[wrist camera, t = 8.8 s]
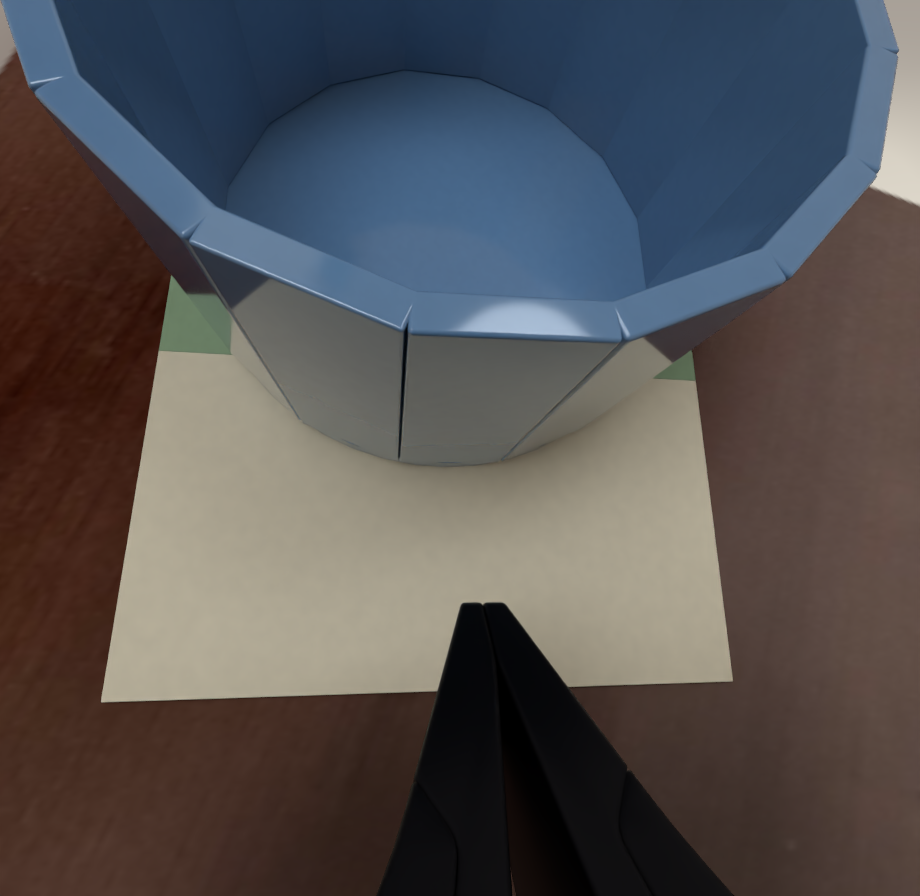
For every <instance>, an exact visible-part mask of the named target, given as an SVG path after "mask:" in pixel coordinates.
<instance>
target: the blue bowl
mask: <svg viewBox="0 0 920 896" xmlns="http://www.w3.org/2000/svg"><path fill="white" fill-rule="evenodd" d="M1 3H2V6H3V9H4V12H5V15H6V18H7V21H8V25H9V28H10V30H11V34H12V37H13V40H14V43H15V46H16V49H17V52H18V55H19V58H20V61H21V64H22V68H23V71H24V74H25V77H26V80H27V83H28V86H29V88H30V89H31V90H32V91H33V93H34V94H35V95H36V97H37V99H38V100H39V102H40V103H41V104H42V106H43V107H44V108H45V110H46V111H47V112H48V114H49V115H50V116H51V118H52V119H53V120H54V121H55V123H56V124H57V125H58V127H59V128H60V129H61V131H62V132H63V133H64V135H65V136H66V137H67V139H68V140H69V141H70V142H71V144H72V145H73V146H74V148H75V149H76V150H77V152H78V153H79V154H80V156H81V157H82V158H83V159H84V161H85V162H86V163H87V165H88V166H89V167H90V169H91V170H92V171H93V173H94V174H95V175H96V177H97V178H98V179H99V180H100V182H101V183H102V184H103V186H104V187H105V188H106V190H107V191H108V192H109V194H110V195H111V196H112V197H113V199H114V200H115V201H116V203H117V204H118V205H119V207H120V208H121V209H122V211H123V212H124V213H125V215H126V216H127V217H128V218H129V220H130V221H131V222H132V224H133V225H134V226H135V228H136V229H137V230H138V232H139V233H140V234H141V236H142V237H143V238H144V239H145V241H146V242H147V243H148V245H149V246H150V247H151V249H152V250H153V251H154V253H155V254H156V255H157V256H158V258H159V259H160V260H161V262H162V263H163V264H164V266H165V267H166V268H167V270H168V271H169V272H170V274H171V275H172V276H173V277H174V279H175V280H176V281H177V283H178V284H179V285H180V287H181V288H182V289H183V291H184V292H185V293H186V294H187V296H188V297H189V298H190V300H191V301H192V302H193V304H194V305H195V306H196V308H197V309H198V310H199V312H200V313H201V314H202V315H203V317H204V318H205V319H206V321H207V322H208V323H209V325H210V326H211V327H212V329H213V330H214V331H215V333H216V334H217V335H218V336H219V338H220V339H221V340H222V342H223V343H224V344H225V346H226V347H227V348H228V350H229V351H230V352H231V353H232V354H233V355H234V356H235V357H236V358H237V359H238V360H239V361H240V362H241V363H242V364H243V365H244V366H245V367H246V368H247V369H248V370H249V371H250V372H251V373H252V374H253V375H254V376H255V378H256V379H257V380H258V381H259V382H260V383H261V384H262V386H263V387H264V388H265V389H266V390H267V391H268V392H269V394H270V395H271V396H273V397H274V398H275V399H276V400H277V401H278V402H279V403H281V404H282V405H283V406H284V407H285V408H286V409H288V410H289V411H290V412H291V413H292V414H293V415H294V416H295V417H296V418H297V419H298V420H301V421H302V422H303V423H304V424H306V425H308V426H311V427H313V428H314V429H316V430H317V431H319V432H320V433H322V434H323V435H326V436H328V437H330V438H332V439H334V440H336V441H338V442H340V443H342V444H344V445H346V446H348V447H350V448H353V449H356V450H359V451H362V452H365V453H368V454H371V455H374V456H377V457H380V458H383V459H387V460H392V461H397V462H402V463H407V464H412V465H422V466H437V467H459V466H475V465H483V464H488V463H493V462H499V461H505V460H508V459H512V458H515V457H517V456H520V455H523V454H526V453H529V452H532V451H535V450H538V449H540V448H542V447H544V446H546V445H548V444H550V443H552V442H554V441H556V440H558V439H560V438H562V437H563V436H565V435H567V434H570V433H572V432H574V431H577V430H579V429H582V428H584V427H585V426H587V425H588V424H589V423H591V422H592V421H594V420H595V419H596V418H598V417H599V416H601V415H602V414H603V413H605V412H606V411H607V410H609V409H610V408H612V407H613V406H614V405H616V404H617V403H619V402H620V401H621V400H623V399H624V398H625V397H627V396H628V395H630V394H631V393H632V392H634V391H635V390H637V389H638V388H639V387H641V386H642V385H643V384H645V383H646V382H648V381H649V380H650V379H652V378H653V377H655V376H656V375H657V374H659V373H660V372H661V371H663V370H664V369H666V368H667V367H668V366H670V365H671V364H673V363H674V362H675V361H677V360H678V359H679V358H681V357H682V356H684V355H685V354H686V353H688V352H689V351H691V350H692V349H693V348H695V347H696V346H698V345H699V344H700V343H702V342H703V341H704V340H706V339H707V338H709V337H710V336H711V335H713V334H714V333H716V332H717V331H718V330H720V329H721V328H722V327H724V326H725V325H727V324H728V323H729V322H731V321H732V320H734V319H735V318H736V317H738V316H739V315H740V314H742V313H743V312H745V311H746V310H747V309H749V308H750V307H752V306H753V305H754V304H756V303H757V302H758V301H760V300H761V299H763V298H764V297H765V296H767V295H768V294H770V293H771V292H772V291H774V290H775V289H776V288H778V287H779V286H781V285H782V284H783V283H785V282H786V281H788V280H789V279H790V278H792V276H793V275H794V274H795V273H796V272H797V271H798V269H799V268H800V267H801V266H802V265H803V264H804V262H805V261H806V260H807V259H808V258H809V257H810V255H811V254H812V253H813V252H814V251H815V249H816V248H817V247H818V246H819V245H820V244H821V242H822V241H823V240H824V239H825V238H826V237H827V235H828V234H829V233H830V232H831V231H832V230H833V228H834V227H835V226H836V225H837V224H838V222H839V221H840V220H841V219H842V218H843V217H844V215H845V214H846V213H847V212H848V211H849V210H850V208H851V207H852V206H853V205H854V204H855V203H856V201H857V200H858V199H859V198H860V197H861V195H862V194H863V193H864V192H865V191H866V190H867V188H868V187H869V186H870V185H871V184H872V183H873V181H874V180H875V178H876V177H877V175H876V174H877V173H878V171H879V170H880V167H881V161H882V154H883V148H884V142H885V136H886V130H887V123H888V117H889V111H890V104H891V99H892V92H893V85H894V79H895V74H896V67H897V60H898V56H897V53H898V51H899V49H898V46H897V42H896V39H895V36H894V33H893V29H892V26H891V23H890V20H889V17H888V13H887V10H886V7H885V4H884V1H883V0H1Z"/></svg>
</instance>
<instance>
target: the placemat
mask: <svg viewBox="0 0 920 896" xmlns="http://www.w3.org/2000/svg"><path fill="white" fill-rule="evenodd" d="M464 602H479V603H481V604H482V605H483V604H484V603H486V602H503V603H505V604H506V605H507V606H508V608H509V609H510V610H511V612H512V613H513V614H514V616H515V617H516V618H517V620H518V621H519V622H520V624H521V625H522V626H523V628H524V629H525V630H526V632H527V633H528V634H529V636H530V637H531V638H532V640H533V641H534V642H535V644H536V645H537V646H538V648H539V649H540V650H541V652H542V653H543V654H544V656H545V657H546V658H547V660H548V661H549V662H550V664H551V665H552V666H553V668H554V669H555V670H556V672H557V673H558V674H559V676H560V677H561V678H562V680H563V681H564V682H565V684H566V685H567V686H568V687H580V686H610V685H640V684H670V683H700V682H730V681H733V678H732V670H731V662H730V654H729V646H728V638H727V629H726V621H725V613H724V605H723V597H722V589H721V581H720V573H719V565H718V557H717V549H716V541H715V533H714V525H713V517H712V509H711V501H710V493H709V485H708V477H707V469H706V461H705V453H704V445H703V437H702V429H701V420H700V412H699V404H698V396H697V388H696V381H695V372H694V364H693V356H692V350H691V351H689V352H688V353H686V354H685V355H684V356H682V357H681V358H679V359H678V360H677V361H675V362H674V363H673V364H671V365H670V366H668V367H667V368H666V369H664V370H663V371H661V372H660V373H659V374H657V375H656V376H655V377H653V378H652V379H650V380H649V381H648V382H646V383H645V384H643V385H642V386H641V387H639V388H638V389H637V390H635V391H634V392H632V393H631V394H630V395H628V396H627V397H625V398H624V399H623V400H621V401H620V402H619V403H617V404H616V405H614V406H613V407H612V408H610V409H609V410H607V411H606V412H605V413H603V414H602V415H601V416H599V417H598V418H596V419H595V420H594V421H592V422H591V423H589V424H588V425H587V426H585V427H584V428H582V429H579V430H577V431H574V432H572V433H570V434H567V435H565V436H563V437H562V438H560V439H558V440H556V441H554V442H552V443H550V444H548V445H546V446H544V447H542V448H540V449H538V450H535V451H532V452H529V453H526V454H523V455H520V456H517V457H515V458H512V459H508V460H505V461H499V462H493V463H488V464H483V465H475V466H459V467H437V466H422V465H412V464H407V463H402V462H397V461H392V460H387V459H383V458H380V457H377V456H374V455H371V454H368V453H365V452H362V451H359V450H356V449H353V448H350V447H348V446H346V445H344V444H342V443H340V442H338V441H336V440H334V439H332V438H330V437H328V436H326V435H323V434H322V433H320V432H319V431H317V430H316V429H314V428H313V427H311V426H308V425H306V424H304V423H303V422H302V421H301V420H298V419H297V418H296V417H295V416H294V415H293V414H292V413H291V412H290V411H289V410H288V409H286V408H285V407H284V406H283V405H282V404H281V403H279V402H278V401H277V400H276V399H275V398H274V397H273V396H271V395H270V394H269V392H268V391H267V390H266V389H265V388H264V387H263V386H262V384H261V383H260V382H259V381H258V380H257V379H256V378H255V376H254V375H253V374H252V373H251V372H250V371H249V370H248V369H247V368H246V367H245V366H244V365H243V364H242V363H241V362H240V361H239V360H238V359H237V358H236V357H235V356H234V355H233V354H232V353H231V352H230V351H229V350H228V348H227V347H226V346H225V344H224V343H223V342H222V340H221V339H220V338H219V336H218V335H217V334H216V333H215V331H214V330H213V329H212V327H211V326H210V325H209V323H208V322H207V321H206V319H205V318H204V317H203V315H202V314H201V313H200V312H199V310H198V309H197V308H196V306H195V305H194V304H193V302H192V301H191V300H190V298H189V297H188V296H187V294H186V293H185V292H184V291H183V289H182V288H181V287H180V285H179V284H178V283H177V281H176V280H175V279H174V277H173V276H172V275H171V280H170V287H169V293H168V299H167V305H166V311H165V317H164V323H163V329H162V335H161V341H160V347H159V353H158V359H157V365H156V371H155V377H154V383H153V390H152V396H151V402H150V408H149V414H148V420H147V426H146V432H145V438H144V444H143V450H142V456H141V462H140V468H139V474H138V480H137V486H136V493H135V499H134V505H133V511H132V517H131V523H130V529H129V535H128V541H127V547H126V553H125V559H124V565H123V571H122V577H121V583H120V590H119V596H118V602H117V608H116V614H115V620H114V626H113V632H112V638H111V644H110V650H109V656H108V662H107V668H106V674H105V680H104V686H103V693H102V699H101V702H129V701H159V700H189V699H219V698H249V697H279V696H309V695H339V694H369V693H399V692H430V691H437V690H438V687H439V683H440V679H441V675H442V672H443V668H444V664H445V661H446V657H447V653H448V649H449V646H450V642H451V638H452V635H453V631H454V627H455V623H456V620H457V616H458V612H459V609H460V606H461V604H462V603H464Z"/></svg>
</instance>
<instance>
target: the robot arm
mask: <svg viewBox="0 0 920 896" xmlns="http://www.w3.org/2000/svg"><path fill="white" fill-rule="evenodd" d="M510 866H511V869H510ZM511 872H512V877H513V882H514V887H515V893H516V896H734V895H733V894H732V893H731V892H730V891H729V889H728V888H727V887H726V886H725V885H724V884H723V883H722V882H721V880H720V879H719V878H718V877H717V876H716V875H715V874H714V873H713V871H712V870H711V869H710V868H709V867H708V866H707V865H706V863H705V862H704V861H703V860H702V859H701V858H700V856H699V855H698V854H697V853H696V852H695V851H694V849H693V848H692V847H691V846H690V845H689V844H688V842H687V841H686V840H685V839H684V838H683V837H682V835H681V834H680V833H679V832H678V831H677V830H676V828H675V827H674V826H673V825H672V823H671V822H670V821H669V820H668V818H667V817H666V816H665V815H664V813H663V812H662V811H661V809H660V808H659V807H658V806H657V804H656V803H655V802H654V801H653V799H652V798H651V797H650V795H649V794H648V793H647V792H646V790H645V789H644V788H643V786H642V785H641V784H640V782H639V781H638V779H637V778H636V777H635V775H634V774H633V773H632V771H630V770H628V771H627V765H626V764H625V762H624V761H623V760H622V758H621V757H620V756H619V754H618V753H617V752H616V750H615V749H614V748H613V746H612V745H611V744H610V742H609V741H608V740H607V738H606V737H605V736H604V734H603V733H602V732H601V730H600V729H599V728H598V726H597V725H596V724H595V722H594V721H593V720H592V718H591V717H590V716H589V714H588V713H587V712H586V710H585V709H584V708H583V706H582V705H581V704H580V702H579V701H578V700H577V698H576V697H575V696H574V694H573V693H572V692H571V690H570V689H569V688H568V686H567V685H566V684H565V682H564V681H563V680H562V678H561V677H560V676H559V674H558V673H557V672H556V670H555V669H554V668H553V666H552V665H551V664H550V662H549V661H548V660H547V658H546V657H545V656H544V654H543V653H542V652H541V650H540V649H539V648H538V646H537V645H536V644H535V642H534V641H533V640H532V638H531V637H530V636H529V634H528V633H527V632H526V630H525V629H524V628H523V626H522V625H521V624H520V622H519V621H518V620H517V618H516V617H515V616H514V614H513V613H512V612H511V610H510V609H509V608H508V606H507V605H506V604H505V603H503V602H486V603H484V604H483V605H482V604H481V603H479V602H464V603H462V604H461V606H460V609H459V612H458V616H457V620H456V623H455V627H454V631H453V635H452V638H451V642H450V646H449V649H448V653H447V657H446V661H445V664H444V668H443V672H442V675H441V679H440V683H439V687H438V690H437V694H436V698H435V701H434V705H433V709H432V712H431V716H430V720H429V724H428V727H427V731H426V735H425V738H424V742H423V746H422V750H421V753H420V757H419V761H418V764H417V768H416V772H415V776H414V782H413V784H412V786H411V789H410V793H409V797H408V801H407V804H406V808H405V812H404V815H403V818H402V821H401V825H400V828H399V831H398V835H397V838H396V841H395V845H394V848H393V851H392V854H391V856H390V859H389V862H388V865H387V867H386V870H385V873H384V876H383V878H382V881H381V884H380V887H379V889H378V892H377V895H376V896H512V884H511Z"/></svg>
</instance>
